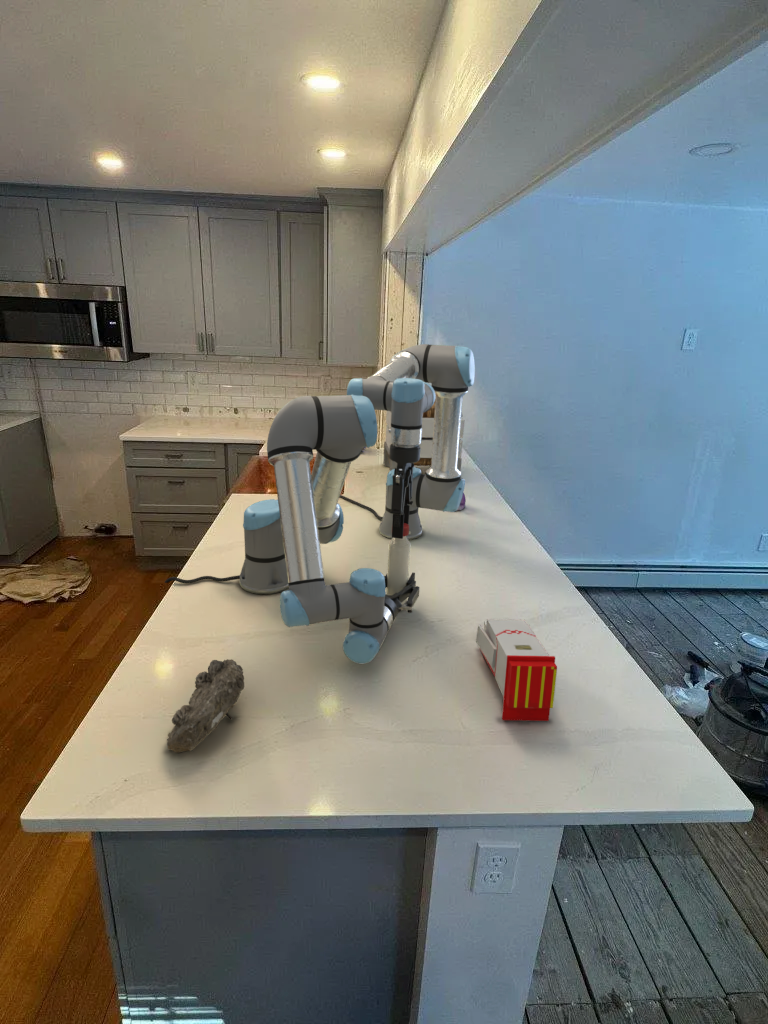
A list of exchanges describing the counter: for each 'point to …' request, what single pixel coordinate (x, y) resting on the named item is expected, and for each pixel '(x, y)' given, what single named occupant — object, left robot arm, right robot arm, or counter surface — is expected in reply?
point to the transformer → (425, 440)
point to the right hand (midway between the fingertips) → (400, 532)
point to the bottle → (398, 565)
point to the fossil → (206, 705)
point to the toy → (519, 668)
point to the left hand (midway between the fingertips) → (402, 575)
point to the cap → (405, 529)
